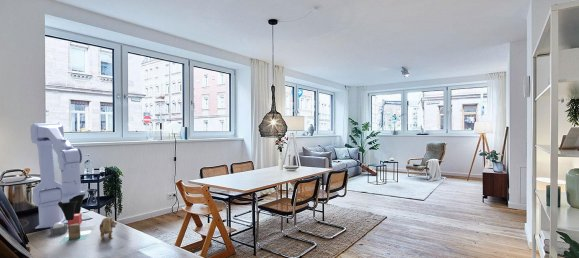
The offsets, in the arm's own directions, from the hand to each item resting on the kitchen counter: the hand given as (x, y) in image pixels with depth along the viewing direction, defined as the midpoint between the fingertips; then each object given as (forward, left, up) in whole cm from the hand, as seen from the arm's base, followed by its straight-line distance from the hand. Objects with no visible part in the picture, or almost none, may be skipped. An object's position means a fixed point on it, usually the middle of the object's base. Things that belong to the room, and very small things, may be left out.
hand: (73, 216), depth 114 cm
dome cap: (-9, -8, -8) cm, 14 cm away
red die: (-18, -5, -8) cm, 21 cm away
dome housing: (-9, -8, -8) cm, 15 cm away
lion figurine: (+4, +12, -9) cm, 15 cm away
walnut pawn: (0, 0, -8) cm, 8 cm away
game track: (-5, 0, -8) cm, 10 cm away
